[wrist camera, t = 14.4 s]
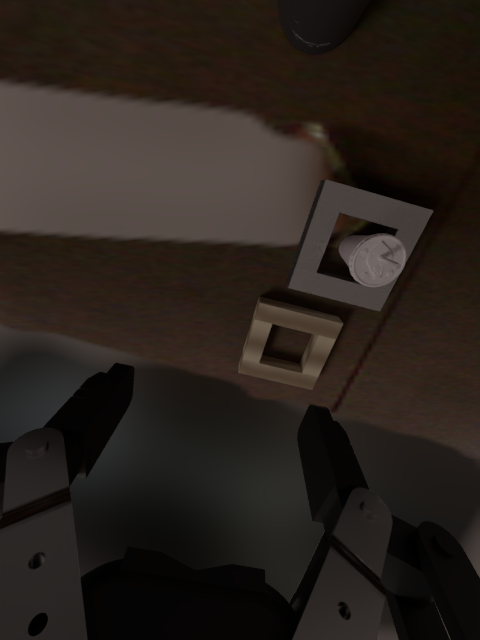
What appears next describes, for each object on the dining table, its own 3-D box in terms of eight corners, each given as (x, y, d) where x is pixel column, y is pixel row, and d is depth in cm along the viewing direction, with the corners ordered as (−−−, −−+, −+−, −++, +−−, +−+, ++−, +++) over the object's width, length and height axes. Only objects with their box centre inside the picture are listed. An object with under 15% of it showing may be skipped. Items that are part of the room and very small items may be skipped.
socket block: (259, 296, 44) (259, 302, 41) (337, 316, 44) (343, 323, 42) (239, 363, 49) (238, 372, 47) (308, 379, 50) (312, 389, 48)
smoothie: (375, 223, 38) (437, 236, 25) (370, 266, 41) (424, 298, 28) (330, 228, 38) (369, 243, 26) (328, 270, 41) (362, 302, 29)
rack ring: (320, 180, 36) (325, 179, 33) (420, 209, 37) (433, 210, 34) (285, 281, 42) (288, 287, 40) (371, 304, 43) (379, 311, 41)
